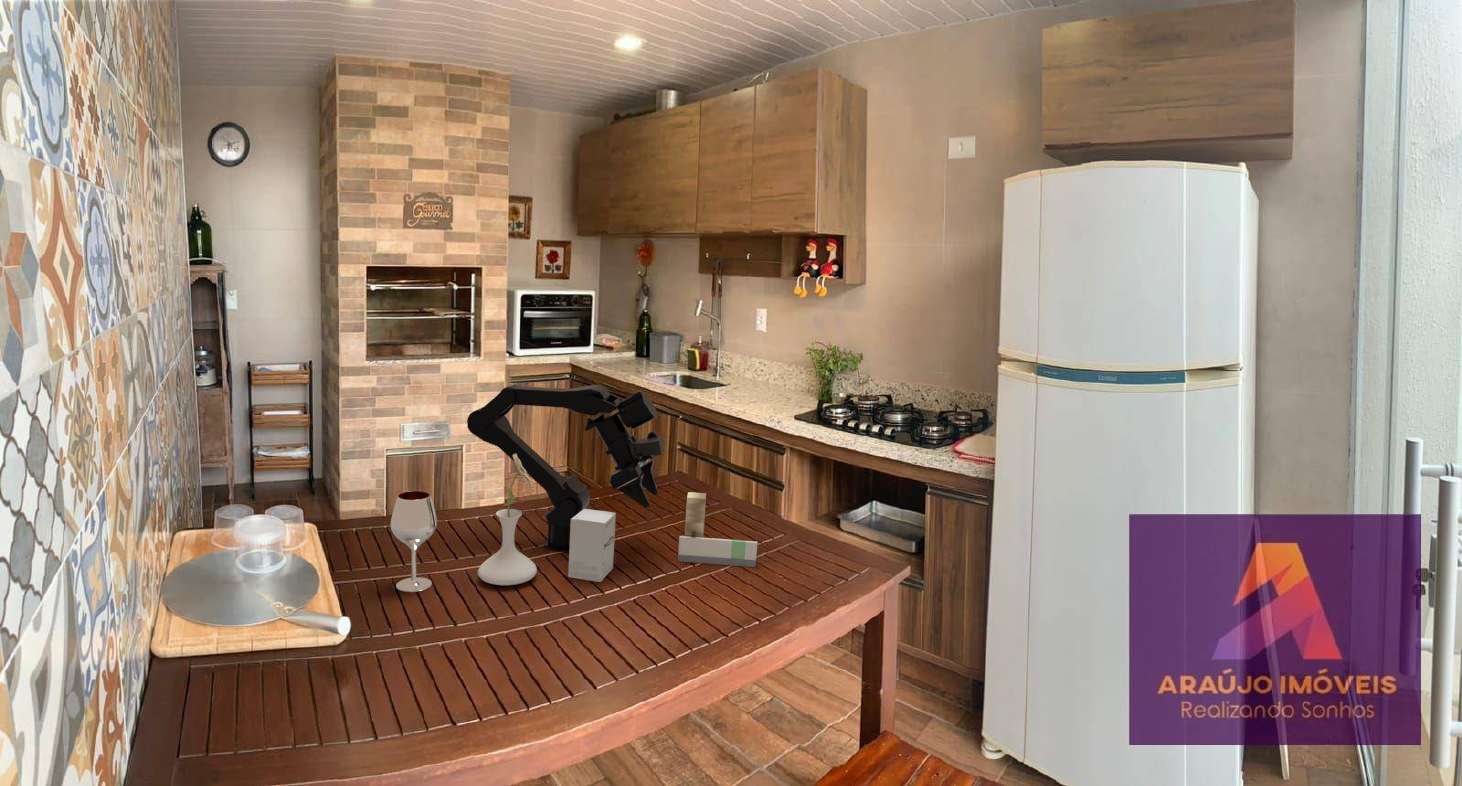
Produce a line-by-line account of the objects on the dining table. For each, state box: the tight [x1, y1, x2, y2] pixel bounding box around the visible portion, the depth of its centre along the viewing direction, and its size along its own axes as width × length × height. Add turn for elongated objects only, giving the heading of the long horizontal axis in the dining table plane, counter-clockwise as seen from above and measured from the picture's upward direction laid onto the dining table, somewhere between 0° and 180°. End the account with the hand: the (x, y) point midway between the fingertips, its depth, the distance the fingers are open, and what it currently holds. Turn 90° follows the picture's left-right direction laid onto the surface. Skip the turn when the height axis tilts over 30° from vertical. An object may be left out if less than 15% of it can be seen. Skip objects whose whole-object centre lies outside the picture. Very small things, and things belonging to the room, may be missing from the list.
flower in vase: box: [477, 453, 538, 586], centre depth 159 cm, size 13×11×25 cm
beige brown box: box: [684, 491, 707, 538], centre depth 177 cm, size 5×6×12 cm
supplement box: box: [567, 508, 617, 583], centre depth 165 cm, size 7×7×13 cm
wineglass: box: [390, 490, 438, 593], centre depth 153 cm, size 8×8×18 cm
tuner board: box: [677, 535, 758, 568], centre depth 179 cm, size 17×8×6 cm, turn 90°
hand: (652, 500), depth 176 cm, fingers open, 9 cm apart
